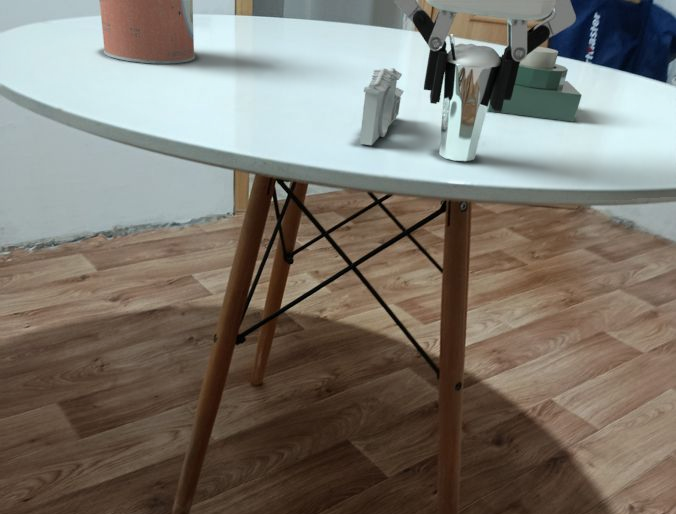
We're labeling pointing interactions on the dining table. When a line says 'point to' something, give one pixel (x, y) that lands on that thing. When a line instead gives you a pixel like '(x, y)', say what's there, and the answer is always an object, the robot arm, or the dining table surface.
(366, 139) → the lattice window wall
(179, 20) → the canned food
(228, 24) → the dining table surface
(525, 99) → the dispenser
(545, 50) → the white short cylinder
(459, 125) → the milkshake
